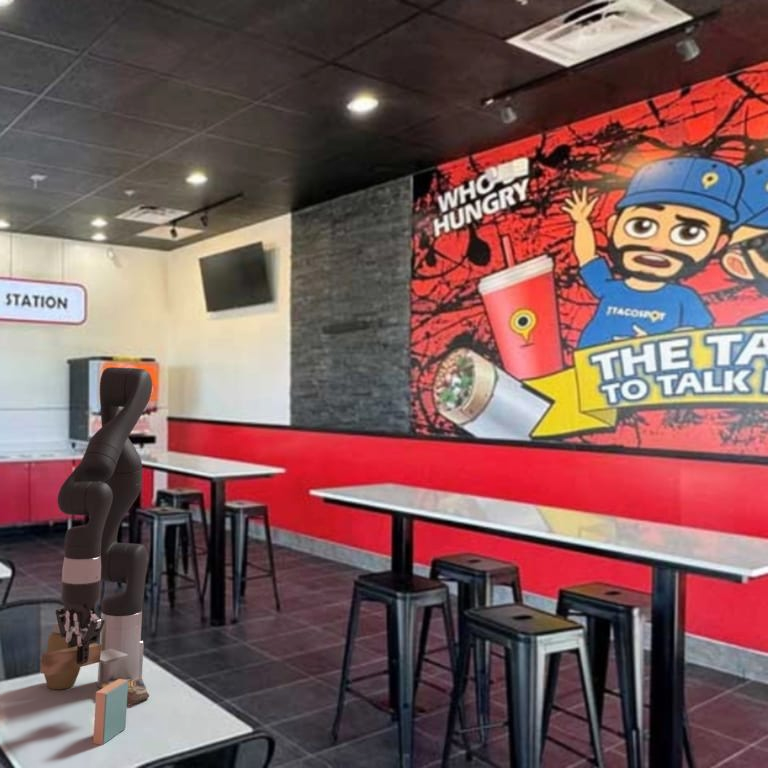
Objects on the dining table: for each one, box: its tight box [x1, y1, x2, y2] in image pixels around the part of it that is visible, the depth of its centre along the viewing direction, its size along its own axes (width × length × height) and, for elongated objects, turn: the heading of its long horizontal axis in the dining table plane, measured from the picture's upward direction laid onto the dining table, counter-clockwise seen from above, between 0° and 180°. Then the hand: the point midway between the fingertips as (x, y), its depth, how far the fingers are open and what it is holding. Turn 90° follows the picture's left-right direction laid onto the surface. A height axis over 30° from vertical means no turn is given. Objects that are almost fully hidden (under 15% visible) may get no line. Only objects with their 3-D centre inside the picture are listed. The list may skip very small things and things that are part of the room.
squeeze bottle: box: [43, 618, 81, 690], centre depth 181 cm, size 8×8×18 cm
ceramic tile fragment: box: [102, 678, 150, 705], centre depth 177 cm, size 12×3×10 cm
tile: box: [92, 679, 128, 746], centre depth 156 cm, size 2×8×10 cm, turn 166°
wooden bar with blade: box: [40, 642, 129, 675], centre depth 161 cm, size 18×6×4 cm, turn 147°
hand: (77, 661), depth 159 cm, fingers closed on wooden bar with blade, 2 cm apart
